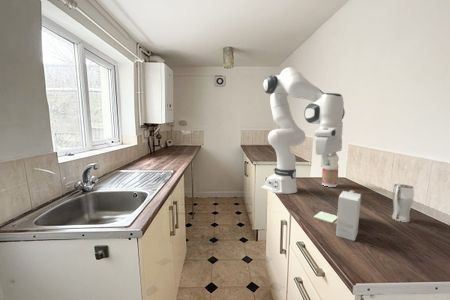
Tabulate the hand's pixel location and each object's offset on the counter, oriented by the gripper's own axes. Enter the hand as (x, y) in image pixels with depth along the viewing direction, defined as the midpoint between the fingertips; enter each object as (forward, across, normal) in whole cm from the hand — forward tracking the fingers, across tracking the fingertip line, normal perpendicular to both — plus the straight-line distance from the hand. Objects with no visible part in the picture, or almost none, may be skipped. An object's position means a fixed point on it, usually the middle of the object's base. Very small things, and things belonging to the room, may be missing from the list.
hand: (328, 163), depth 93 cm
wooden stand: (+25, -2, +8) cm, 26 cm away
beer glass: (+25, -21, +24) cm, 40 cm away
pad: (+25, 0, 0) cm, 25 cm away
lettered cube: (+2, 0, 0) cm, 2 cm away
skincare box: (+25, +10, +12) cm, 29 cm away
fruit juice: (+25, -51, -18) cm, 59 cm away
